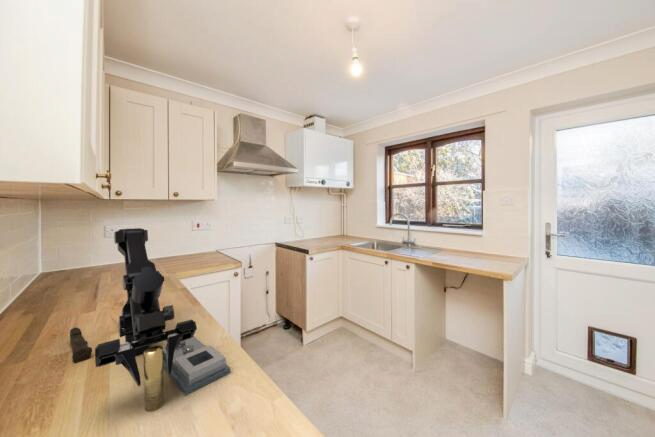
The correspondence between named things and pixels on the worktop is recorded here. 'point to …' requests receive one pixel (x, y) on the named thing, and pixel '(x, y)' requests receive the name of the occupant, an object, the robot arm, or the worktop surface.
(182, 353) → the tiered gray console
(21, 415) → the worktop surface
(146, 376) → the pin
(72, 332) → the hand tool
